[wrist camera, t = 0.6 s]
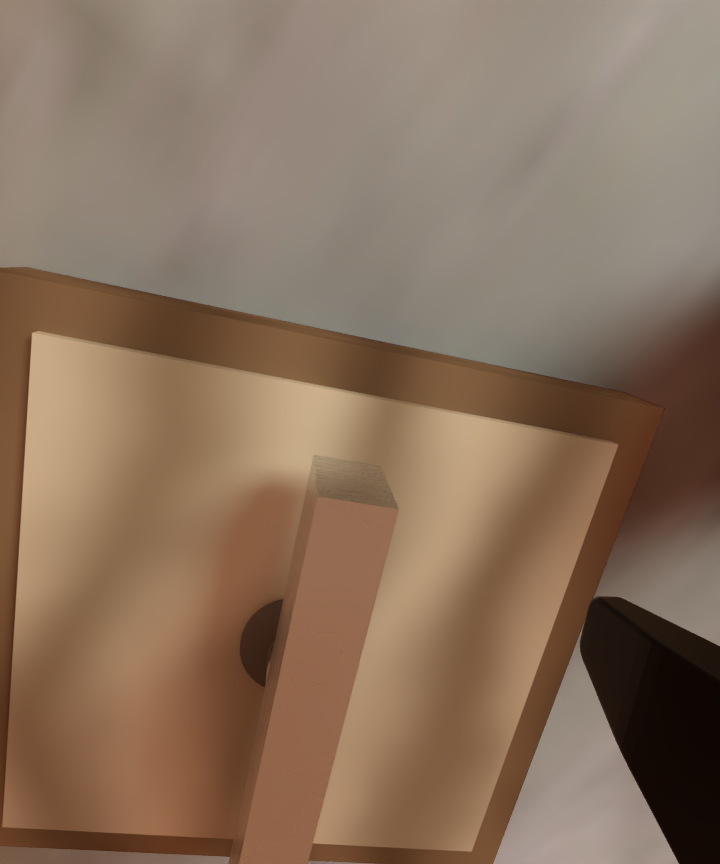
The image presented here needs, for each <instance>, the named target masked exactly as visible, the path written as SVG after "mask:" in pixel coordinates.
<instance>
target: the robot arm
mask: <svg viewBox="0 0 720 864" xmlns="http://www.w3.org/2000/svg"><path fill="white" fill-rule="evenodd" d="M580 652H581V656H582V659H583V662H584V664H585V666H586V669H587V671H588V674H589V676H590V679H591V681H592V684H593V686H594V688H595V691H596V693H597V696H598V698H599V701H600V703H601V706H602V708H603V711H604V713H605V715H606V718H607V720H608V723H609V725H610V728H611V730H612V733H613V735H614V737H615V740H616V742H617V744H618V746H619V749H620V751H621V753H622V755H623V757H624V759H625V761H626V763H627V765H628V767H629V769H630V771H631V773H632V775H633V777H634V779H635V780H636V782H637V784H638V786H639V788H640V790H641V792H642V794H643V796H644V798H645V800H646V801H647V803H648V805H649V807H650V809H651V811H652V813H653V815H654V817H655V819H656V821H657V823H658V824H659V826H660V828H661V830H662V832H663V834H664V836H665V838H666V840H667V842H668V844H669V846H670V847H671V849H672V851H673V853H674V855H675V857H676V859H677V861H678V863H679V864H720V646H718V645H716V644H714V643H712V642H710V641H708V640H706V639H704V638H702V637H700V636H698V635H696V634H694V633H692V632H690V631H688V630H686V629H684V628H682V627H680V626H678V625H676V624H673V623H671V622H669V621H667V620H665V619H663V618H661V617H659V616H657V615H655V614H653V613H651V612H649V611H647V610H645V609H643V608H641V607H639V606H637V605H635V604H633V603H631V602H629V601H627V600H625V599H623V598H620V597H595V598H593V599H592V600H591V602H590V604H589V606H588V610H587V614H586V619H585V623H584V627H583V631H582V635H581V639H580Z"/></svg>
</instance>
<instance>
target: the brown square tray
mask: <svg viewBox="0 0 720 864" xmlns="http://www.w3.org/2000/svg"><path fill="white" fill-rule="evenodd" d="M663 412H664V408H662V407H659V406H657V405H654V404H652V403H650V402H647V401H645V400H642V399H640V398H637V397H635V396H632V395H630V394H627V393H625V392H620V391H615V390H610V389H605V388H601V387H596V386H591V385H586V384H582V383H577V382H572V381H567V380H562V379H558V378H553V377H548V376H543V375H539V374H534V373H529V372H524V371H519V370H515V369H510V368H505V367H500V366H496V365H491V364H486V363H481V362H476V361H472V360H467V359H462V358H457V357H453V356H448V355H443V354H438V353H433V352H429V351H424V350H419V349H414V348H410V347H405V346H400V345H395V344H390V343H386V342H381V341H376V340H371V339H367V338H362V337H357V336H352V335H347V334H343V333H338V332H333V331H328V330H324V329H319V328H314V327H309V326H304V325H300V324H295V323H290V322H285V321H281V320H276V319H271V318H266V317H261V316H257V315H252V314H247V313H242V312H238V311H233V310H228V309H223V308H218V307H214V306H209V305H204V304H199V303H195V302H190V301H185V300H180V299H175V298H171V297H166V296H161V295H156V294H152V293H147V292H142V291H137V290H132V289H128V288H123V287H118V286H113V285H108V284H104V283H99V282H94V281H89V280H85V279H80V278H75V277H70V276H65V275H61V274H56V273H51V272H46V271H42V270H37V269H32V268H27V267H11V268H0V846H15V847H36V848H57V849H78V850H100V851H121V852H142V853H163V854H185V855H206V856H227V857H230V855H231V850H232V845H233V840H234V835H235V830H236V826H237V821H238V816H239V811H240V806H241V802H242V797H243V792H244V787H245V782H246V777H247V773H248V768H249V763H250V758H251V753H252V749H253V744H254V739H255V734H256V729H257V724H258V720H259V715H260V710H261V705H262V700H263V696H264V691H265V686H266V673H267V658H268V650H269V647H270V645H271V643H272V642H273V640H274V639H275V638H276V633H277V628H278V623H279V618H280V614H281V609H282V604H283V599H284V594H285V589H286V585H287V580H288V575H289V570H290V565H291V561H292V556H293V551H294V546H295V541H296V536H297V532H298V527H299V522H300V517H301V512H302V508H303V503H304V498H305V493H306V488H307V483H308V479H309V474H310V469H311V464H312V459H313V455H314V454H315V455H321V456H327V457H332V458H338V459H344V460H350V461H356V462H362V463H368V464H373V465H379V466H381V467H382V470H383V472H384V474H385V477H386V479H387V482H388V484H389V486H390V489H391V491H392V493H393V496H394V498H395V501H396V503H397V505H398V508H399V512H398V516H397V520H396V523H395V527H394V531H393V535H392V539H391V543H390V547H389V551H388V554H387V558H386V562H385V566H384V570H383V574H382V578H381V581H380V585H379V589H378V593H377V597H376V601H375V605H374V609H373V612H372V616H371V620H370V624H369V628H368V632H367V636H366V640H365V643H364V647H363V651H362V655H361V659H360V663H359V667H358V671H357V674H356V678H355V682H354V686H353V690H352V694H351V698H350V701H349V705H348V709H347V713H346V717H345V721H344V725H343V729H342V732H341V736H340V740H339V744H338V748H337V752H336V756H335V760H334V763H333V767H332V771H331V775H330V779H329V783H328V787H327V791H326V794H325V798H324V802H323V806H322V810H321V814H320V818H319V821H318V825H317V829H316V833H315V837H314V841H313V845H312V849H311V852H310V856H309V860H312V861H333V862H354V863H376V864H493V862H494V860H495V857H496V854H497V852H498V849H499V846H500V844H501V841H502V838H503V836H504V833H505V830H506V828H507V825H508V823H509V820H510V817H511V815H512V812H513V809H514V807H515V804H516V801H517V799H518V796H519V793H520V791H521V788H522V785H523V783H524V780H525V778H526V775H527V772H528V770H529V767H530V764H531V762H532V759H533V756H534V754H535V751H536V748H537V746H538V743H539V740H540V738H541V735H542V733H543V730H544V727H545V725H546V722H547V719H548V717H549V714H550V711H551V709H552V706H553V703H554V701H555V698H556V695H557V693H558V690H559V687H560V685H561V682H562V680H563V677H564V674H565V672H566V669H567V666H568V664H569V661H570V658H571V656H572V653H573V650H574V648H575V645H576V642H577V640H578V637H579V635H580V632H581V629H582V627H583V624H584V621H585V619H586V614H587V610H588V606H589V604H590V602H591V600H592V599H593V597H594V595H595V592H596V590H597V587H598V584H599V582H600V579H601V576H602V574H603V571H604V568H605V566H606V563H607V560H608V558H609V555H610V552H611V550H612V547H613V544H614V542H615V539H616V537H617V534H618V531H619V529H620V526H621V523H622V521H623V518H624V515H625V513H626V510H627V507H628V505H629V502H630V499H631V497H632V494H633V492H634V489H635V486H636V484H637V481H638V478H639V476H640V473H641V470H642V468H643V465H644V462H645V460H646V457H647V454H648V452H649V449H650V447H651V444H652V441H653V439H654V436H655V433H656V431H657V428H658V425H659V423H660V420H661V417H662V415H663Z"/></svg>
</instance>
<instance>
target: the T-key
mask: <svg viewBox="0 0 720 864" xmlns="http://www.w3.org/2000/svg"><path fill="white" fill-rule="evenodd" d="M398 512H399V508H398V505H397V503H396V501H395V498H394V496H393V493H392V491H391V489H390V486H389V484H388V482H387V479H386V477H385V474H384V472H383V470H382V467H381V466H379V465H373V464H368V463H362V462H356V461H350V460H344V459H338V458H332V457H327V456H321V455H315V454H314V455H313V459H312V464H311V469H310V474H309V479H308V483H307V488H306V493H305V498H304V503H303V508H302V512H301V517H300V522H299V527H298V532H297V536H296V541H295V546H294V551H293V556H292V561H291V565H290V570H289V575H288V580H287V585H286V589H285V594H284V599H283V604H282V609H281V614H280V618H279V623H278V628H277V633H276V638H275V639H274V640H273V642H272V643H271V645H270V647H269V650H268V658H267V673H266V686H265V691H264V696H263V700H262V705H261V710H260V715H259V720H258V724H257V729H256V734H255V739H254V744H253V749H252V753H251V758H250V763H249V768H248V773H247V777H246V782H245V787H244V792H243V797H242V802H241V806H240V811H239V816H238V821H237V826H236V830H235V835H234V840H233V845H232V850H231V855H230V859H229V864H308V860H309V856H310V852H311V849H312V845H313V841H314V837H315V833H316V829H317V825H318V821H319V818H320V814H321V810H322V806H323V802H324V798H325V794H326V791H327V787H328V783H329V779H330V775H331V771H332V767H333V763H334V760H335V756H336V752H337V748H338V744H339V740H340V736H341V732H342V729H343V725H344V721H345V717H346V713H347V709H348V705H349V701H350V698H351V694H352V690H353V686H354V682H355V678H356V674H357V671H358V667H359V663H360V659H361V655H362V651H363V647H364V643H365V640H366V636H367V632H368V628H369V624H370V620H371V616H372V612H373V609H374V605H375V601H376V597H377V593H378V589H379V585H380V581H381V578H382V574H383V570H384V566H385V562H386V558H387V554H388V551H389V547H390V543H391V539H392V535H393V531H394V527H395V523H396V520H397V516H398Z"/></svg>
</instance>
